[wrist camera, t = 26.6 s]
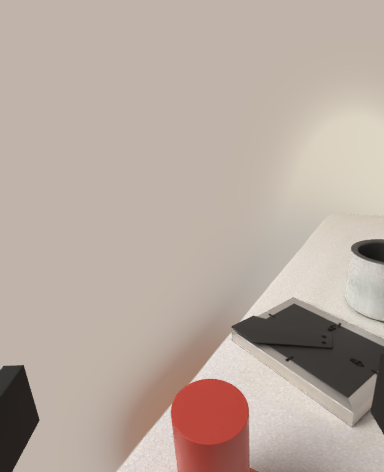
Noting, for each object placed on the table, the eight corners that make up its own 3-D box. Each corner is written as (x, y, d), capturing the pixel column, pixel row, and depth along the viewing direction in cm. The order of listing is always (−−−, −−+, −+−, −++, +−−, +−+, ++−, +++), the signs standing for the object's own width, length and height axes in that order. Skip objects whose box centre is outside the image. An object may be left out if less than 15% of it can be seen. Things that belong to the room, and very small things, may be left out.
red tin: (237, 561, 26) (234, 457, 22) (170, 524, 29) (156, 426, 25) (257, 485, 32) (257, 390, 28) (199, 460, 35) (191, 371, 31)
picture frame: (232, 340, 54) (352, 427, 37) (231, 326, 53) (354, 409, 36) (292, 306, 62) (412, 365, 46) (293, 293, 61) (415, 349, 45)
